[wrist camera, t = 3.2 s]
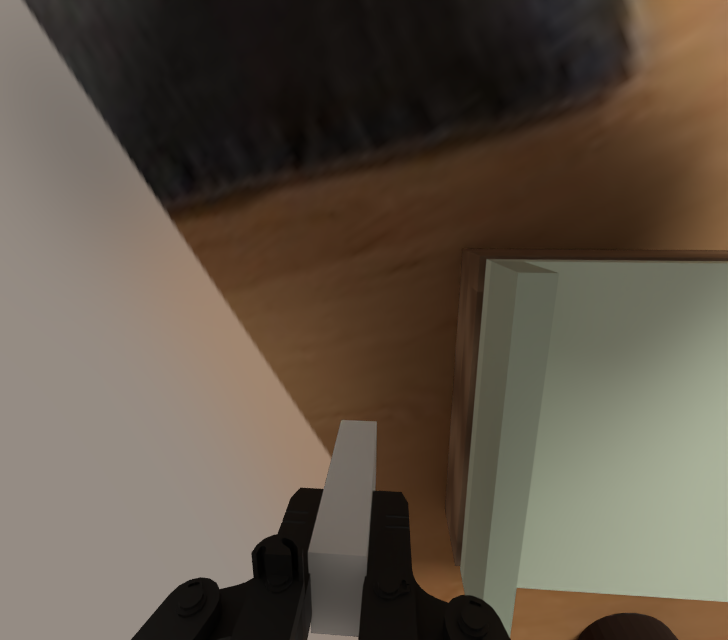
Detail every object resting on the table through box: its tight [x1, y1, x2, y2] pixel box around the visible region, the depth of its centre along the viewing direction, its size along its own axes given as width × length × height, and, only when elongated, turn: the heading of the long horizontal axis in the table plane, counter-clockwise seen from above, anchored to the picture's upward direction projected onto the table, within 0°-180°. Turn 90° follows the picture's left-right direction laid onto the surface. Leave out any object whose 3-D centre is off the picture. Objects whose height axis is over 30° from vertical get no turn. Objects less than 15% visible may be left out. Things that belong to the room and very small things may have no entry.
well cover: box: [460, 259, 728, 637], centre depth 15 cm, size 16×19×4 cm
